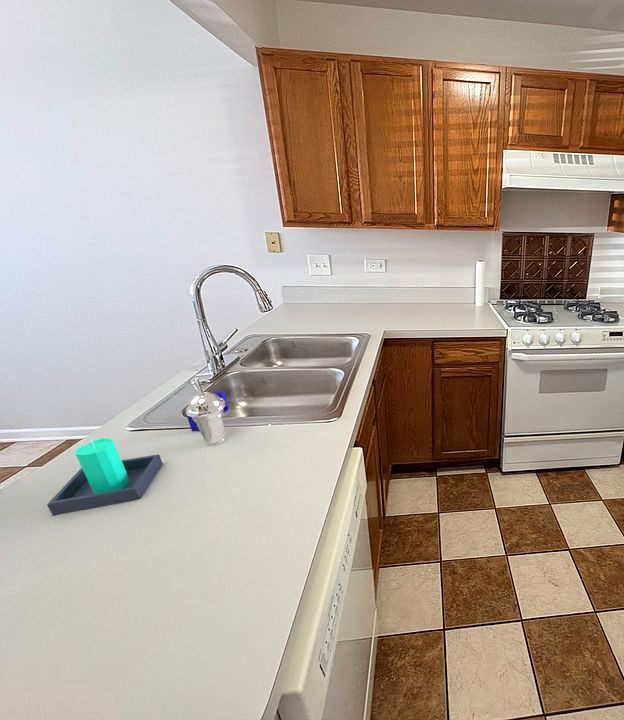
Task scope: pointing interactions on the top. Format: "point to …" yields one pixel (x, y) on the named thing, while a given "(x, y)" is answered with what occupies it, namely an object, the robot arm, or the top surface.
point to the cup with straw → (208, 414)
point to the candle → (102, 465)
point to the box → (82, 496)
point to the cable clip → (222, 395)
